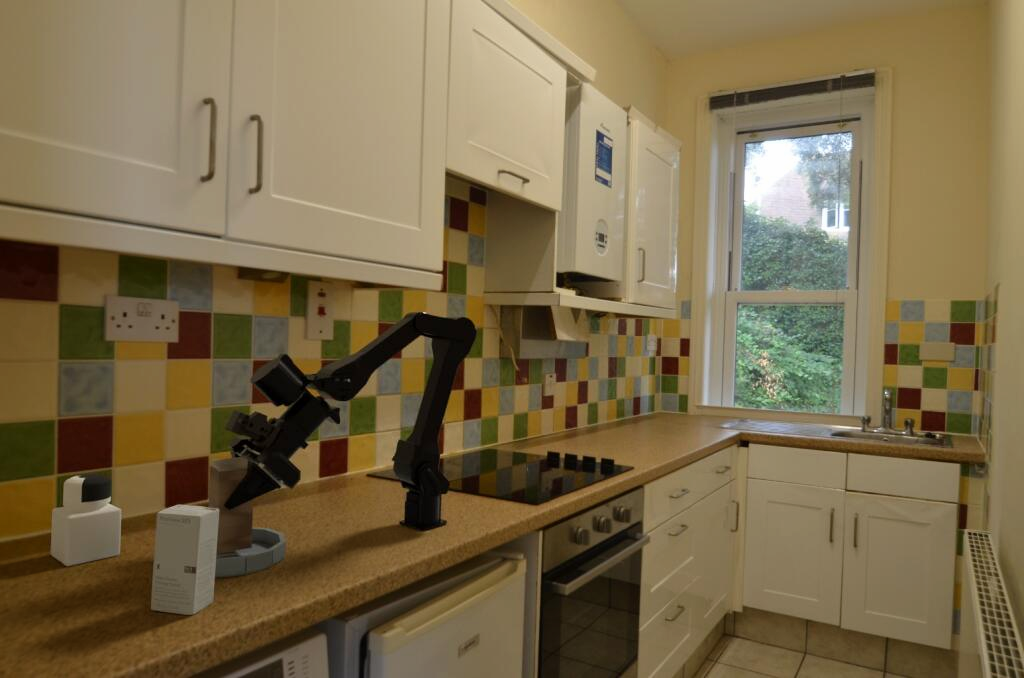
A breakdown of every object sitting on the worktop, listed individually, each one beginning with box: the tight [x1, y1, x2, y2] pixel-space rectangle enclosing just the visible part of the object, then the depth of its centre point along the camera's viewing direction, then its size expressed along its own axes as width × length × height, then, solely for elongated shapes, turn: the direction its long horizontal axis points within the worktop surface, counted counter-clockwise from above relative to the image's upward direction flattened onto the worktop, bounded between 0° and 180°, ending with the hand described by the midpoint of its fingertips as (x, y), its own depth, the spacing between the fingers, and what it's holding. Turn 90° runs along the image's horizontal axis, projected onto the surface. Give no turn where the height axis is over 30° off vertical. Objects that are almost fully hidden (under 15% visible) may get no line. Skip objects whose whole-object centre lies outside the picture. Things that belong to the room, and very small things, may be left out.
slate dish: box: [215, 526, 287, 579], centre depth 98 cm, size 16×16×2 cm
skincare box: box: [150, 504, 219, 616], centre depth 81 cm, size 6×4×12 cm
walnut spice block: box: [208, 457, 254, 554], centre depth 99 cm, size 5×5×13 cm
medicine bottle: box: [50, 473, 122, 567], centre depth 98 cm, size 7×7×12 cm
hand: (221, 504), depth 98 cm, fingers closed on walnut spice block, 5 cm apart
